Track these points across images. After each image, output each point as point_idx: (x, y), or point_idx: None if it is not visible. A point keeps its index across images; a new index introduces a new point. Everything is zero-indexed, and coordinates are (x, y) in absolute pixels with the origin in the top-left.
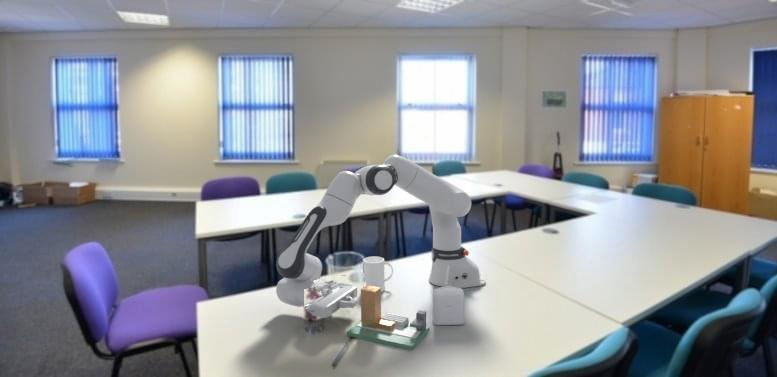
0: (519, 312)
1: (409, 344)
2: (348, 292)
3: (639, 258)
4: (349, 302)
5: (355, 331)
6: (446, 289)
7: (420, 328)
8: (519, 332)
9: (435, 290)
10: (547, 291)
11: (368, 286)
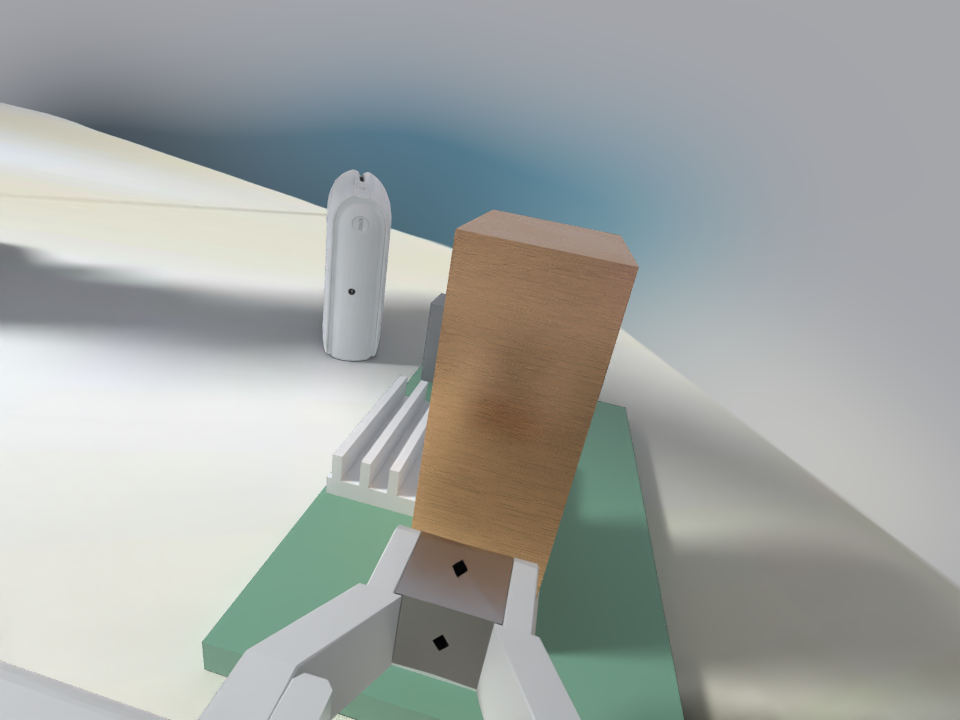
0: (281, 249)
1: (616, 413)
2: (52, 693)
3: (26, 140)
4: (532, 619)
5: (637, 692)
6: (378, 180)
7: None
8: (406, 271)
9: (373, 194)
10: (148, 207)
11: (500, 229)
